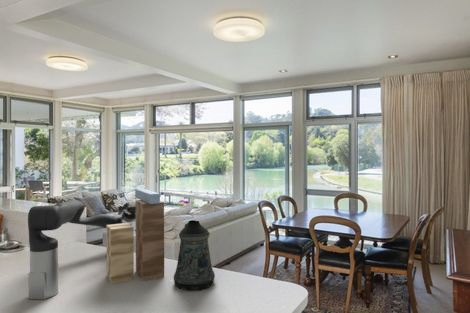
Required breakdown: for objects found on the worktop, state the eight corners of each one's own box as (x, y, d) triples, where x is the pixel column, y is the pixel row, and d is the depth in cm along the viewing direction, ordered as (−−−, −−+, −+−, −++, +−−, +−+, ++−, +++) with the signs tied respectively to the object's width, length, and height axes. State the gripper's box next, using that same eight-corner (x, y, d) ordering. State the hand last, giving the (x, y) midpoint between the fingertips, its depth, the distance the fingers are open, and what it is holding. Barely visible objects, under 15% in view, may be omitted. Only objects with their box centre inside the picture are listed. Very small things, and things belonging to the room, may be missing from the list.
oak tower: (133, 279, 141) (133, 226, 141) (111, 283, 136) (111, 229, 136) (128, 271, 150) (127, 222, 149) (106, 275, 145) (106, 225, 145)
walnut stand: (164, 276, 144) (164, 202, 144) (143, 280, 139) (143, 203, 139) (155, 268, 154) (155, 198, 154) (135, 272, 150) (135, 200, 149)
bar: (159, 203, 141) (159, 193, 141) (150, 203, 139) (150, 194, 138) (143, 196, 161) (143, 188, 161) (135, 197, 159) (135, 189, 159)
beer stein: (194, 295, 125) (194, 228, 125) (160, 283, 137) (160, 222, 136) (223, 281, 138) (222, 221, 138) (189, 271, 150) (189, 215, 150)
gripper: (114, 210, 175) (120, 197, 163) (141, 207, 183) (149, 195, 171) (116, 223, 172) (122, 212, 160) (143, 220, 180) (151, 209, 167)
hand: (136, 203), depth 165 cm, fingers open, 8 cm apart
